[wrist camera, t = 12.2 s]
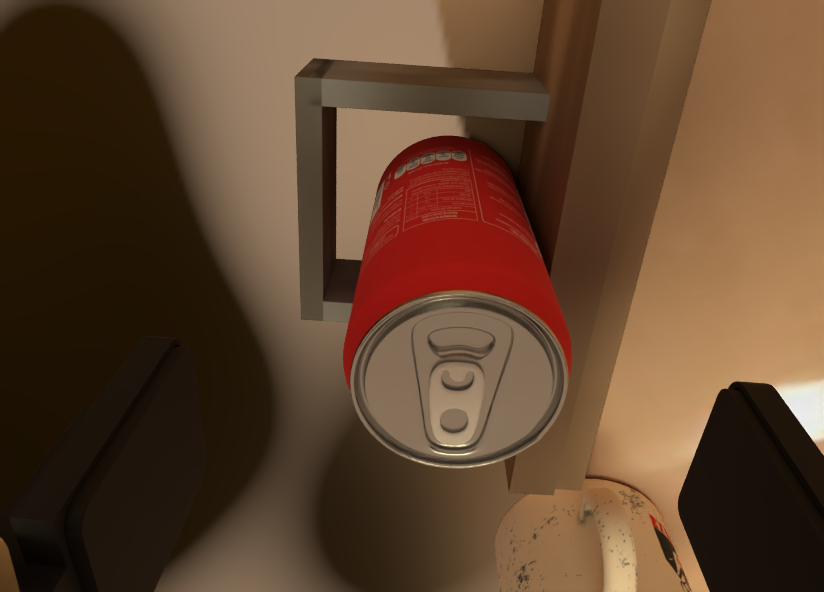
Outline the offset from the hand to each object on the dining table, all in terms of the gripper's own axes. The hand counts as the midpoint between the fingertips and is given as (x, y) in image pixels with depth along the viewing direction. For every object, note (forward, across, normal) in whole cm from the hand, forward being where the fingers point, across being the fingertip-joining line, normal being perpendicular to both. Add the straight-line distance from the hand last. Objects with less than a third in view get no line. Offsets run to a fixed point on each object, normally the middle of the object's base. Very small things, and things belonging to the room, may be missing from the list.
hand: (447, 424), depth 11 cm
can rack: (+14, +1, +1) cm, 14 cm away
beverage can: (+14, 0, +1) cm, 14 cm away
